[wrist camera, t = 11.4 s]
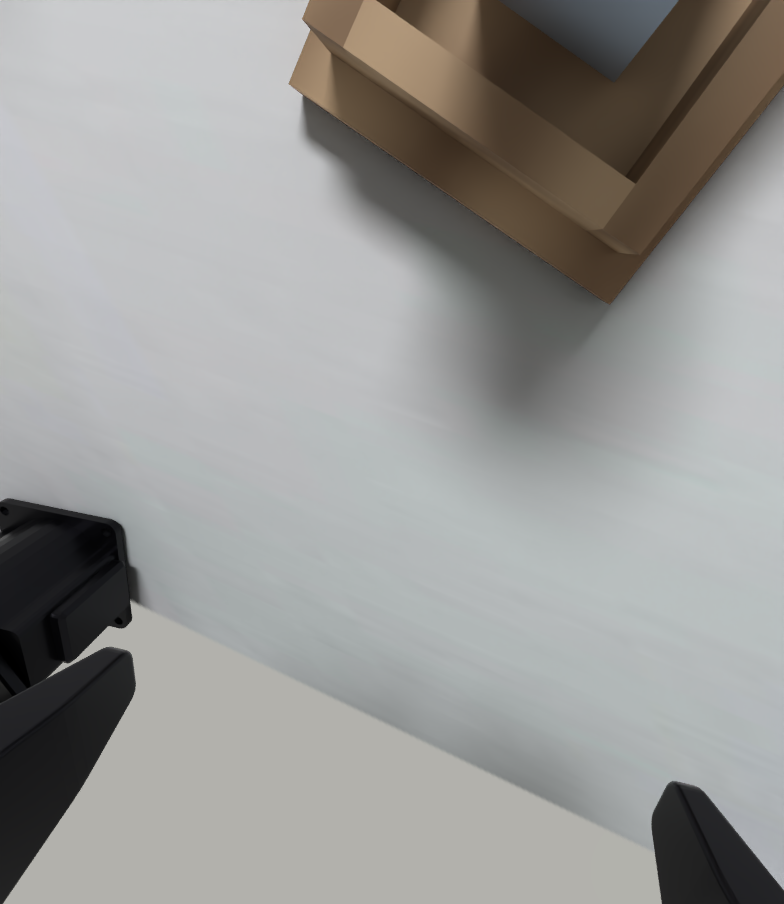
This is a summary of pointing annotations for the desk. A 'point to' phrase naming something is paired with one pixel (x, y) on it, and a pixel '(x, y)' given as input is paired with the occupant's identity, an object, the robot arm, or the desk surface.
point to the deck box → (597, 27)
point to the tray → (549, 115)
